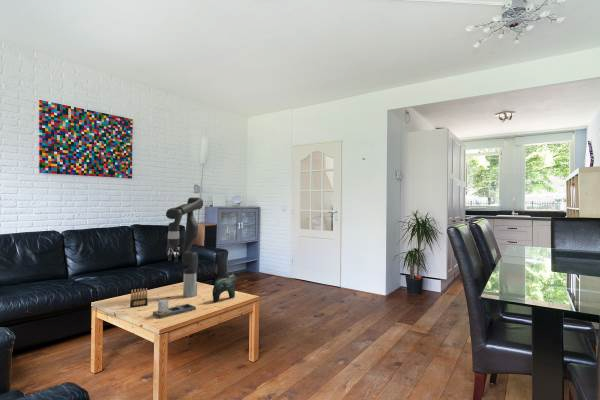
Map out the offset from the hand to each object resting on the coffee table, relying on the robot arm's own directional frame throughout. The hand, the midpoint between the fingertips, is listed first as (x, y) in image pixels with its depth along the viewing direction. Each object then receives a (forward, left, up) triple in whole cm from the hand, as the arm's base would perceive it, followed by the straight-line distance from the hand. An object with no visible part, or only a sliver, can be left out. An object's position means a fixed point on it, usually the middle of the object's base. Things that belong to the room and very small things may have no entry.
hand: (172, 261), depth 229 cm
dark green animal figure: (-34, +14, -30) cm, 48 cm away
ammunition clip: (+16, -14, -30) cm, 37 cm away
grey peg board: (+6, +15, -30) cm, 34 cm away
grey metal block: (+14, +15, -30) cm, 36 cm away
